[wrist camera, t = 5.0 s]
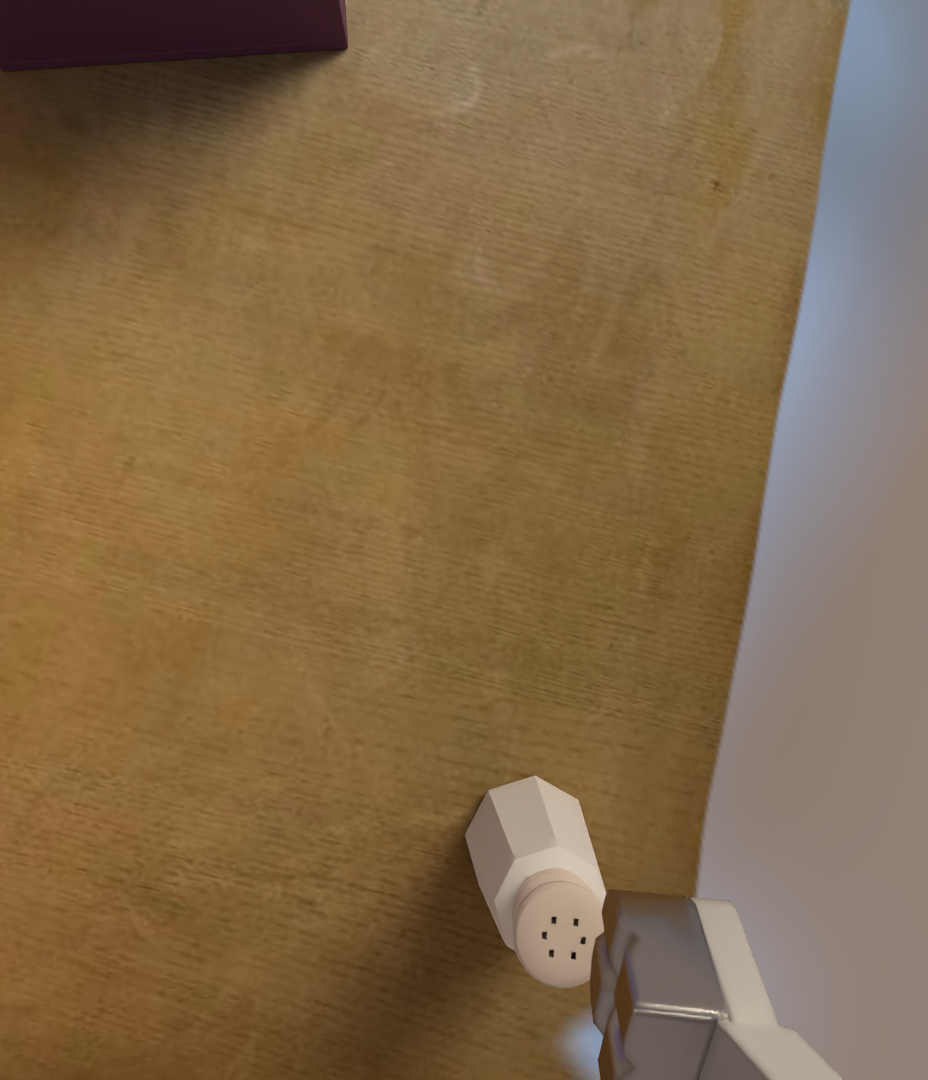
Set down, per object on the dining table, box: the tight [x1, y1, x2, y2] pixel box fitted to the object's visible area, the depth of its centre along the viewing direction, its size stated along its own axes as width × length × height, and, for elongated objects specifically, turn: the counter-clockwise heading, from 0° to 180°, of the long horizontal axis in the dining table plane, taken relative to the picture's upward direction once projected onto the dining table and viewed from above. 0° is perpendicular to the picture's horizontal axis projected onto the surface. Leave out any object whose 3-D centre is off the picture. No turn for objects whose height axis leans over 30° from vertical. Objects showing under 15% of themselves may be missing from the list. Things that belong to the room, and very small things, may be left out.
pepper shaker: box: [465, 776, 606, 988], centre depth 27 cm, size 5×5×11 cm
